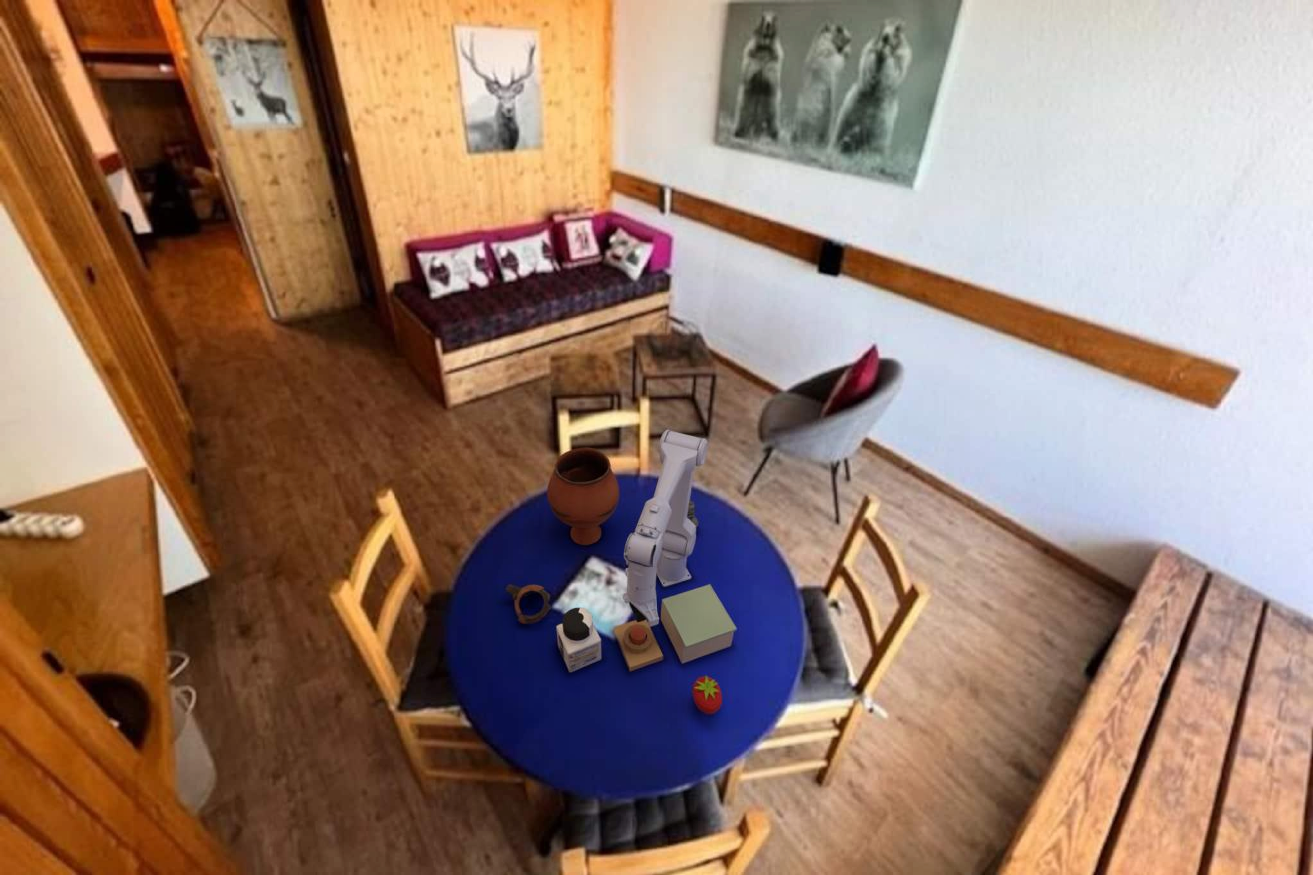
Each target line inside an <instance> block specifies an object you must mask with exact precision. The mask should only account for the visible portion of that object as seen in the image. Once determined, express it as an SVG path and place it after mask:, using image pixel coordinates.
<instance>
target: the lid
mask: <svg viewBox="0 0 1313 875" xmlns="http://www.w3.org/2000/svg"><path fill="white" fill-rule="evenodd" d="M662 603H663V605H664V607H665V609H666V611H667V613H668V614H669V616H670V618H671V620H672V622H673V624H674V626H675V628H676V630H677V632H678V634H679V636H680V638H681V640H682V642H683V644H684V646H685V648H689V647H692V646H695V645H697V644H700V643H703V642H706V641H709V640H712V639H714V638H717V637H720V636H723V635H726V634H729V633H732V632H734V633H735V632H737V629H738V628H737V626H736V625H735V623H734V622H733V620H732V618H731V617H730V615H729V613H728V611H727V610H726V608H725V607H724V605H723V603H722V601H721V600H720V598H719V597H718V595H717V594H716V592H715V590H714V588H713V586H712V585H711V583H708V584H706V585H703V586H700V587H697V588H694V589H691V590H687V591H684V592H680V593H677V594H675V595H671V596H668V597H665V598H662V599H661V604H662Z"/></svg>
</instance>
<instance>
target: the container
mask: <svg viewBox="0 0 1313 875" xmlns="http://www.w3.org/2000/svg"><path fill="white" fill-rule="evenodd" d="M561 622H562V623H559V624H558V625H556V626H555V628H556V637H557V647H558V649H559V651H560V654H561V655H562V658H563V660H564V663H565V665H566V668H567V670H568V673H573V672H575V671H577V670H580V669H582V668H584V667H587V666H589V665H591V664H593V663H596V662H598V661H601V660H602V638H601V636H600V635H599V633H598V630H597V628H596V627H595V625H594V618H593V614H592V613H591V611H589V609H587V608H584V607H580V606H579V607H573V608H570V609H569V610H567V611H566V612H565V613H564V615H563V616H562V620H561Z"/></svg>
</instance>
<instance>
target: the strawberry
mask: <svg viewBox="0 0 1313 875" xmlns="http://www.w3.org/2000/svg"><path fill="white" fill-rule="evenodd" d="M692 698H693V701H694V703H695V706H696V707H697V708H698V710H699V711H700V712H702V713H703V714H706V715H713V714H716V713H717V712H718V711H719V710H720V708H721V706H722V703H723V696H722V690H721V687H720V685H719V682H717V681H716V680H715V679H713V678H712V677H709V676H708V675H707V674H706V675H705V676H704V675H703V676H699V677H698V678H697V679H696V680H695V682H694V684H693V686H692Z"/></svg>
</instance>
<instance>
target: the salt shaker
mask: <svg viewBox="0 0 1313 875" xmlns="http://www.w3.org/2000/svg"><path fill="white" fill-rule="evenodd" d="M695 507H696V503H694V501H692V500H691V499H690V500H689V507H688V513H687V518H688V519H689V520H690V521H691V522H692V523H693V524H695V526H696V528H697V527H698V526H699V520H698V518H697V517H696V516H695V515H696V510H695Z"/></svg>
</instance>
